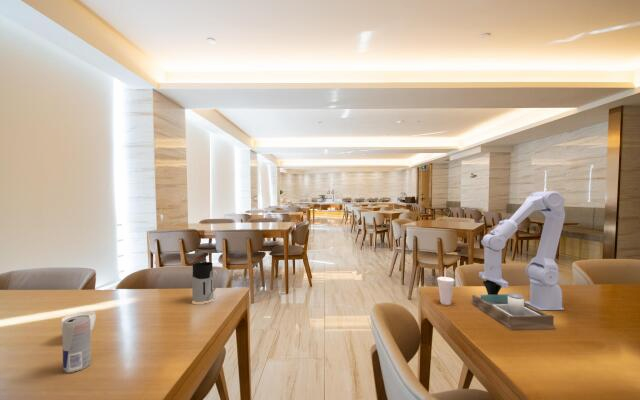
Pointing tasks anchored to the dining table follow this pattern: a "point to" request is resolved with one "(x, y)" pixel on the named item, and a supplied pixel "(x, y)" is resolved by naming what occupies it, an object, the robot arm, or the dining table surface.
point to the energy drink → (76, 343)
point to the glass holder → (203, 282)
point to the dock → (515, 317)
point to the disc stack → (515, 304)
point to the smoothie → (445, 289)
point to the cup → (89, 313)
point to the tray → (504, 303)
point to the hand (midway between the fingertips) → (492, 300)
